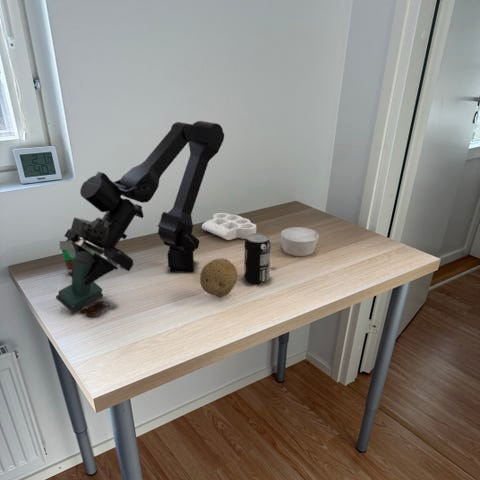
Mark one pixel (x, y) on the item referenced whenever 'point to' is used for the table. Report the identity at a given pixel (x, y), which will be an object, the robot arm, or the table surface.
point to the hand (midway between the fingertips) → (78, 280)
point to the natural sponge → (218, 277)
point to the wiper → (80, 285)
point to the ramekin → (299, 241)
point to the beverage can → (257, 258)
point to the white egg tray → (229, 226)
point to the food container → (69, 254)
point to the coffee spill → (96, 309)
